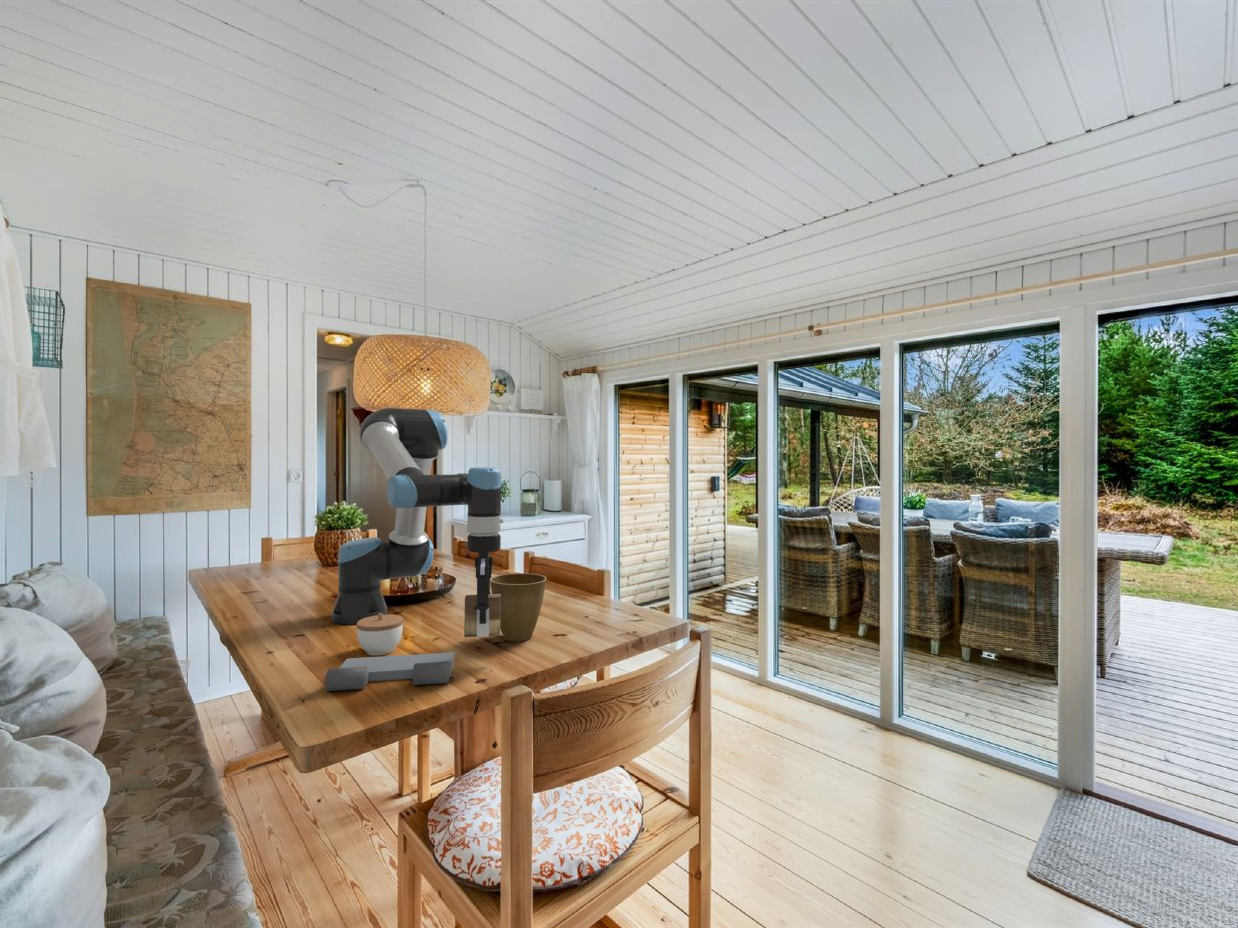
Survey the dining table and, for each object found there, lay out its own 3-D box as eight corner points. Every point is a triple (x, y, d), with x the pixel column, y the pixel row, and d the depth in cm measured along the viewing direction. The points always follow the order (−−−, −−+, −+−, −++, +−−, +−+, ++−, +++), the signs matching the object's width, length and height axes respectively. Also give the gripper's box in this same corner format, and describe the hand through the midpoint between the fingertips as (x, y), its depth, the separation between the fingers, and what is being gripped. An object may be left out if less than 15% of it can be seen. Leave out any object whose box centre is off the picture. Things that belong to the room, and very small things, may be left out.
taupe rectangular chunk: (465, 631, 132) (466, 594, 132) (500, 630, 133) (500, 593, 133) (464, 638, 128) (464, 599, 127) (499, 636, 129) (500, 598, 129)
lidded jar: (412, 648, 141) (412, 611, 141) (375, 661, 132) (374, 622, 132) (385, 641, 147) (385, 605, 147) (347, 653, 137) (347, 615, 137)
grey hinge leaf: (447, 686, 118) (447, 665, 118) (324, 694, 114) (324, 673, 114) (454, 660, 133) (454, 642, 133) (347, 667, 129) (346, 648, 128)
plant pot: (535, 648, 142) (535, 585, 141) (480, 644, 145) (480, 582, 144) (553, 630, 156) (553, 573, 156) (503, 627, 159) (503, 571, 159)
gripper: (499, 539, 122) (498, 644, 123) (501, 528, 139) (500, 620, 140) (464, 539, 121) (463, 646, 121) (470, 528, 138) (469, 622, 138)
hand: (483, 632), depth 130 cm, fingers closed on taupe rectangular chunk, 4 cm apart
